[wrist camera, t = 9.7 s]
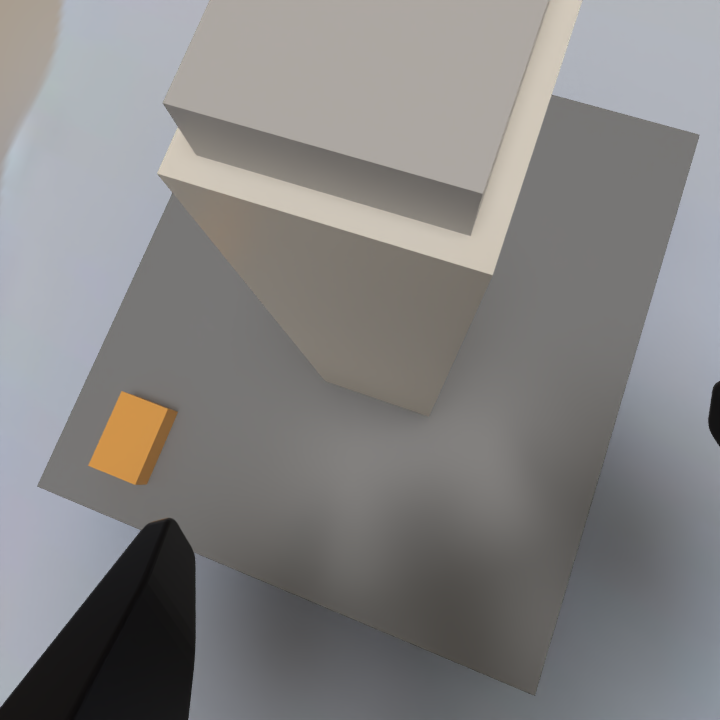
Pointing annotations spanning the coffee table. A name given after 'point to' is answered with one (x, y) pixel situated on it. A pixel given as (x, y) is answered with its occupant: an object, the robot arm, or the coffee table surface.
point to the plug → (364, 167)
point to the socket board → (396, 413)
